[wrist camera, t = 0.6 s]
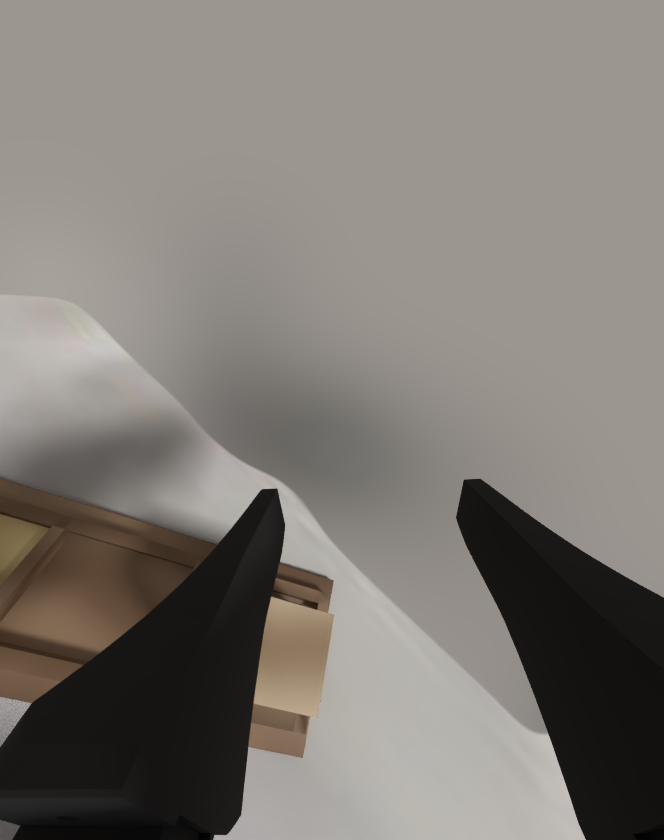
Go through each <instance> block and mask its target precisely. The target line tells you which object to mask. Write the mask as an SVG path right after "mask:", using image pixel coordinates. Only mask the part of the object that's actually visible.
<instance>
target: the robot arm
mask: <svg viewBox="0 0 664 840" xmlns="http://www.w3.org/2000/svg"><path fill="white" fill-rule="evenodd" d="M456 519H457V522H458V525H459V528H460V530H461V533H462V536H463V538H464V541H465V544H466V546H467V548H468V550H469V552H470V554H471V555H472V558H473V560H474V562H475V564H476V566H477V567H478V569H479V571H480V573H481V575H482V577H483V579H484V581H485V583H486V585H487V587H488V589H489V591H490V593H491V594H492V596H493V598H494V600H495V602H496V604H497V606H498V608H499V610H500V612H501V615H502V617H503V619H504V620H505V623H506V626H507V628H508V630H509V633H510V635H511V638H512V640H513V642H514V645H515V647H516V650H517V652H518V654H519V657H520V659H521V662H522V665H523V667H524V670H525V672H526V675H527V677H528V680H529V682H530V685H531V688H532V690H533V693H534V695H535V698H536V701H537V704H538V706H539V709H540V712H541V714H542V717H543V720H544V723H545V725H546V728H547V731H548V734H549V736H550V739H551V742H552V745H553V748H554V751H555V754H556V757H557V760H558V763H559V765H560V768H561V771H562V774H563V777H564V780H565V783H566V786H567V789H568V792H569V795H570V798H571V801H572V804H573V807H574V811H575V814H576V817H577V820H578V823H579V825H580V827H581V830H582V832H583V834H584V836H585V839H586V840H664V598H663V597H661V596H660V595H658V594H655V593H654V592H652V591H650V590H648V589H647V588H645V587H643V586H641V585H639V584H637V583H635V582H634V581H632V580H630V579H628V578H627V577H625V576H623V575H621V574H620V573H618V572H616V571H614V570H613V569H611V568H609V567H608V566H606V565H604V564H602V563H601V562H599V561H598V560H596V559H594V558H593V557H591V556H589V555H588V554H586V553H585V552H583V551H581V550H580V549H578V548H577V547H575V546H573V545H572V544H570V543H569V542H568V541H566V540H564V539H563V538H562V537H560V536H559V535H557V534H556V533H554V532H553V531H551V530H550V529H548V528H547V527H545V526H544V525H542V524H541V523H540V522H538V521H537V520H535V519H534V518H533V517H531V516H530V515H529V514H527V513H525V512H524V511H523V510H521V509H520V508H519V507H518V506H516V505H515V504H514V503H512V502H511V501H509V500H508V499H507V498H506V497H504V496H503V495H502V494H500V493H499V492H498V491H496V490H495V489H494V488H492V487H491V486H490V485H488V484H487V483H485V482H484V481H482V480H481V479H471V480H470V479H469V480H464V482H463V487H462V492H461V497H460V502H459V507H458V512H457V516H456ZM284 531H285V522H284V518H283V513H282V508H281V504H280V499H279V494H278V490H277V489H262V490H261V491H260V492H259V493H258V495H257V496H256V497H255V499H254V500H253V501H252V503H251V504H250V505H249V507H248V508H247V509H246V511H245V512H244V513H243V514H242V516H241V517H240V518H239V520H238V521H237V522H236V523H235V525H234V526H233V527H232V528H231V530H230V531H229V532H228V533H227V534H226V536H225V537H224V538H223V539H222V540H221V541H220V543H219V544H218V545H217V546H216V547H215V548H214V549H213V550H212V552H211V553H210V554H209V555H208V556H207V557H206V558H205V559H204V560H203V562H202V563H201V564H200V565H199V566H198V567H197V568H196V569H195V570H194V571H193V572H192V573H191V574H190V575H189V576H188V577H187V578H186V579H185V580H184V581H183V582H182V583H181V584H180V585H179V586H178V587H177V588H176V589H175V590H173V591H172V592H171V593H170V594H169V595H168V596H167V597H166V598H165V599H164V600H163V601H162V602H160V603H159V604H158V605H157V606H156V607H155V608H154V609H153V610H151V611H150V612H149V613H148V614H147V615H146V616H145V617H144V618H142V619H141V620H140V621H139V622H137V623H136V624H135V625H134V626H133V627H131V628H130V629H129V630H128V631H127V632H125V633H124V634H123V635H122V636H120V637H119V638H118V639H117V640H115V641H114V642H113V643H112V644H110V645H109V646H108V647H107V648H105V649H104V650H103V651H102V652H100V653H99V654H98V655H96V656H95V657H94V658H92V659H91V660H90V661H88V662H87V663H86V664H84V665H83V666H82V667H80V668H79V669H78V670H76V671H75V672H73V673H72V674H71V675H69V676H68V677H67V678H65V679H64V680H63V681H61V682H60V683H58V684H57V685H56V686H54V687H53V688H52V689H50V690H49V691H48V692H46V693H45V694H43V695H42V696H40V697H39V698H38V699H36V700H35V701H33V703H32V704H31V705H30V707H29V708H28V709H27V711H26V712H25V713H24V715H23V716H22V718H21V719H20V720H19V722H18V723H17V725H16V726H15V727H14V729H13V730H12V732H11V733H10V734H9V736H8V737H7V739H6V740H5V741H4V743H3V744H2V746H1V747H0V820H3V821H7V822H10V823H14V824H17V825H20V827H19V829H18V831H17V833H16V834H15V836H14V838H13V840H213V838H214V835H227V834H228V833H229V832H230V830H231V829H232V828H233V826H234V825H235V824H236V822H237V820H238V819H239V817H240V816H241V811H242V801H243V791H244V782H245V772H246V763H247V754H248V745H249V737H250V729H251V720H252V712H253V704H254V696H255V689H256V682H257V675H258V667H259V660H260V654H261V647H262V640H263V634H264V628H265V623H266V618H267V613H268V609H269V605H270V600H271V596H272V592H273V588H274V584H275V579H276V575H277V571H278V567H279V562H280V558H281V554H282V548H283V540H284Z"/></svg>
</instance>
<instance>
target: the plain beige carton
mask: <svg viewBox="0 0 664 840" xmlns="http://www.w3.org/2000/svg"><path fill="white" fill-rule="evenodd" d="M333 618H334V615H333V614H329V613H326V612H322V611H319V610H315V609H312V607H309V606H305V605H302V604H298V603H295V602H291V601H288V600H284V599H281V598H278V597H274V596H271V600H270V605H269V609H268V613H267V618H266V623H265V628H264V634H263V640H262V647H261V654H260V660H259V667H258V675H257V682H256V689H255V696H254V704H257V705H262V706H266V707H271V708H275V709H279V710H284V711H288V712H293V713H297V714H302V715H306V716H310V717H315V718H317V717H318V711H319V705H320V699H321V693H322V686H323V680H324V674H325V668H326V662H327V655H328V649H329V643H330V637H331V631H332V624H333Z"/></svg>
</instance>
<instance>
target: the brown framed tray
mask: <svg viewBox="0 0 664 840" xmlns="http://www.w3.org/2000/svg"><path fill="white" fill-rule="evenodd" d="M216 546H217V545H216V544H212V543H209V542H206V541H203V540H199V539H196V538H193V537H190V536H186V535H183V534H180V533H176V532H173V531H170V530H167V529H163V528H160V527H157V526H154V525H150V524H147V523H144V522H141V521H137V520H134V519H131V518H128V517H124V516H121V515H118V514H115V513H111V512H108V511H105V510H101V509H98V508H95V507H92V506H88V505H85V504H82V503H79V502H75V501H72V500H69V499H66V498H62V497H59V496H56V495H53V494H49V493H46V492H43V491H40V490H36V489H33V488H30V487H26V486H23V485H20V484H17V483H13V482H10V481H7V480H4V479H0V697H5V698H10V699H15V700H19V701H24V702H29V703H33V701H35V700H36V699H38V698H39V697H40V696H42V695H43V694H45V693H46V692H48V691H49V690H50V689H52V688H53V687H54V686H56V685H57V684H58V683H60V682H61V681H63V680H64V679H65V678H67V677H68V676H69V675H71V674H72V673H73V672H75V671H76V670H78V669H79V668H80V667H82V666H83V665H84V664H86V663H87V662H88V661H90V660H91V659H92V658H94V657H95V656H96V655H98V654H99V653H100V652H102V651H103V650H104V649H105V648H107V647H108V646H109V645H110V644H112V643H113V642H114V641H115V640H117V639H118V638H119V637H120V636H122V635H123V634H124V633H125V632H127V631H128V630H129V629H130V628H131V627H133V626H134V625H135V624H136V623H137V622H139V621H140V620H141V619H142V618H144V617H145V616H146V615H147V614H148V613H149V612H150V611H151V610H153V609H154V608H155V607H156V606H157V605H158V604H159V603H160V602H162V601H163V600H164V599H165V598H166V597H167V596H168V595H169V594H170V593H171V592H172V591H173V590H175V589H176V588H177V587H178V586H179V585H180V584H181V583H182V582H183V581H184V580H185V579H186V578H187V577H188V576H189V575H190V574H191V573H192V572H193V571H194V570H195V569H196V568H197V567H198V566H199V565H200V564H201V563H202V562H203V560H204V559H205V558H206V557H207V556H208V555H209V554H210V553H211V552H212V550H213V549H214V548H215V547H216ZM332 587H333V580H330V579H327V578H323V577H320V576H317V575H313V574H310V573H307V572H304V571H300V570H297V569H294V568H291V567H287V566H284V565H281V564H279V567H278V571H277V575H276V579H275V584H274V588H273V592H272V596H274V597H278V598H281V599H284V600H288V601H291V602H295V603H298V604H302V605H305V606H309V607H312V609H315V610H319V611H322V612H326V613H328V610H329V604H330V598H331V593H332ZM309 719H310V716H306V715H302V714H297V713H293V712H288V711H284V710H279V709H275V708H271V707H266V706H262V705H257V704H253V712H252V720H251V729H250V737H249V745H248V747H252V748H257V749H262V750H266V751H271V752H276V753H281V754H286V755H291V756H296V757H301V758H303V753H304V748H305V742H306V736H307V730H308V725H309Z"/></svg>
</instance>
